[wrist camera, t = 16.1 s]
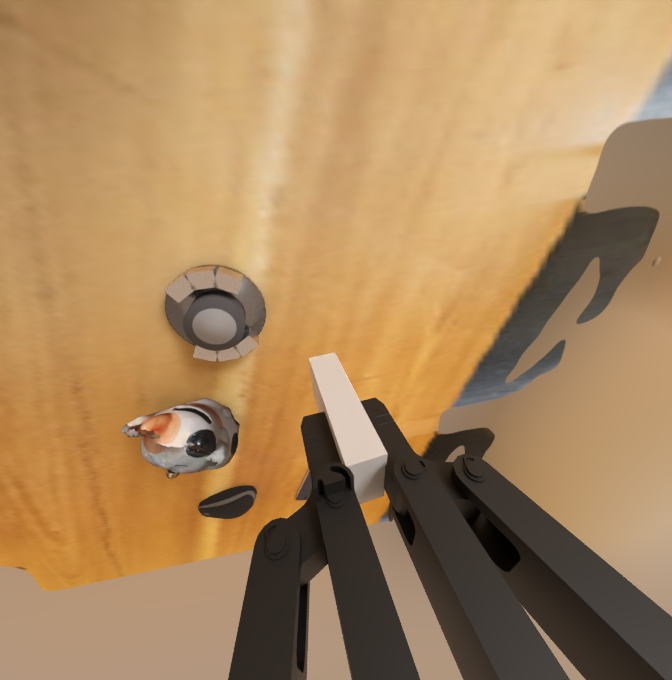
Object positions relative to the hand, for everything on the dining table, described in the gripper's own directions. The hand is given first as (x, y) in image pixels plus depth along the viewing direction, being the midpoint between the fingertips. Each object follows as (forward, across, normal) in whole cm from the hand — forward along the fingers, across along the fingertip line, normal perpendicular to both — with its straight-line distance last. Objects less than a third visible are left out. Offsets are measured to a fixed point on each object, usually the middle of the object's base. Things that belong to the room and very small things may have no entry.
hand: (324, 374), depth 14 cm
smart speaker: (+23, -10, -5) cm, 26 cm away
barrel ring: (+24, -10, -4) cm, 27 cm away
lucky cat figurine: (+25, -19, -23) cm, 39 cm away
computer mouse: (+25, -21, -50) cm, 59 cm away
